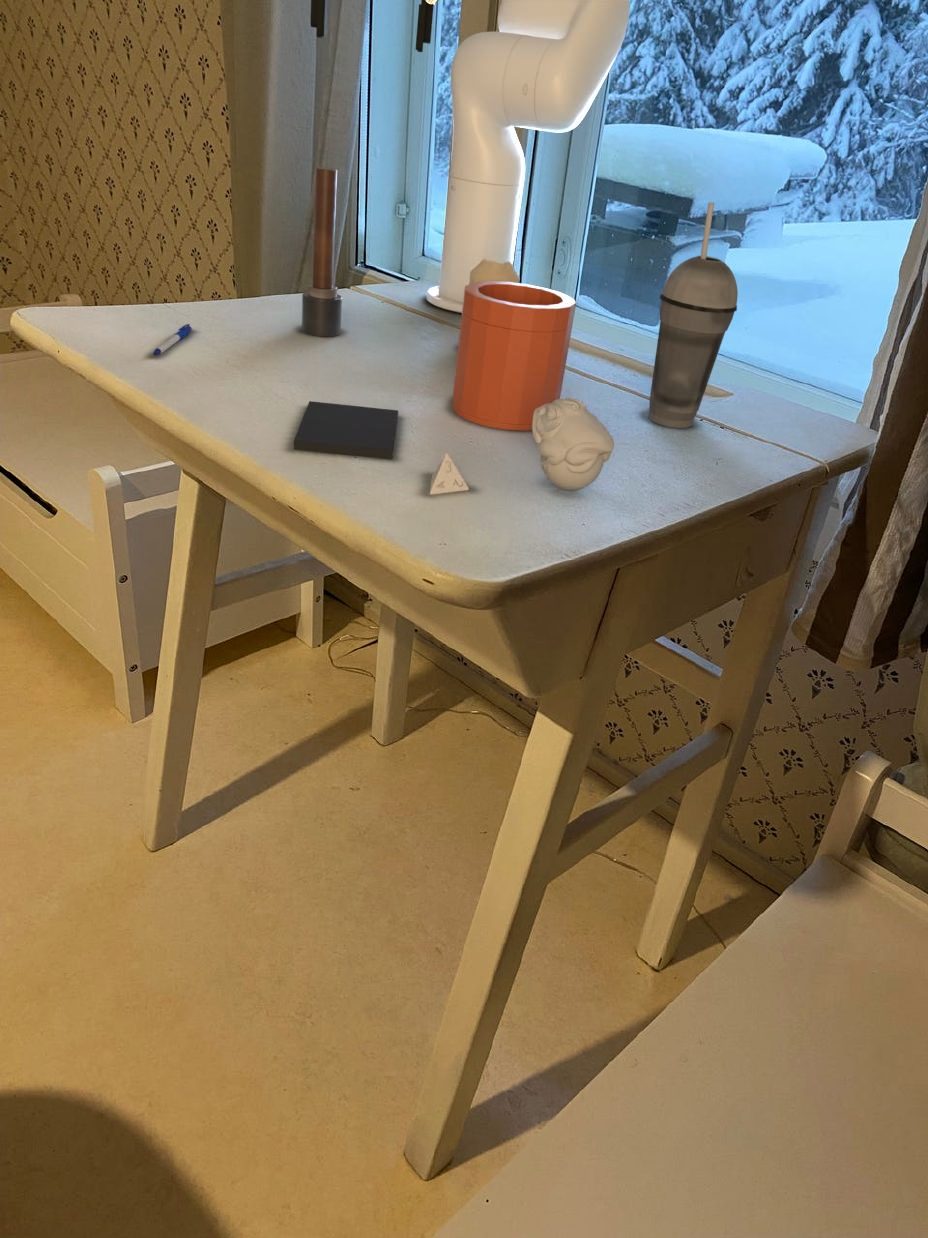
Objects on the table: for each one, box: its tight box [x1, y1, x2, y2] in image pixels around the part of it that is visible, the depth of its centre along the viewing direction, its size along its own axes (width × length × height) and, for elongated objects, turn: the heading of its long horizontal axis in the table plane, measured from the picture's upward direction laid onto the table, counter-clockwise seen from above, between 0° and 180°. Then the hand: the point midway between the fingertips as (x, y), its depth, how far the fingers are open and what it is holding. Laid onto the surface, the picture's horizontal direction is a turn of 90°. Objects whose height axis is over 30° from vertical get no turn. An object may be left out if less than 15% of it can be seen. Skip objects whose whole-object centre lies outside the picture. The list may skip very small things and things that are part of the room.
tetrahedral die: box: [429, 452, 470, 496], centre depth 71 cm, size 4×3×3 cm
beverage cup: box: [647, 201, 739, 429], centre depth 88 cm, size 7×7×20 cm
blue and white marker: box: [153, 324, 193, 356], centre depth 96 cm, size 10×1×1 cm, turn 178°
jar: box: [451, 281, 577, 432], centre depth 87 cm, size 10×10×11 cm
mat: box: [293, 400, 399, 460], centre depth 80 cm, size 10×8×1 cm
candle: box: [469, 259, 521, 284], centre depth 105 cm, size 6×6×10 cm
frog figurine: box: [531, 397, 615, 491], centre depth 73 cm, size 6×7×7 cm
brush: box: [301, 166, 343, 338], centre depth 102 cm, size 4×4×17 cm
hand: (370, 44), depth 92 cm, fingers open, 9 cm apart
